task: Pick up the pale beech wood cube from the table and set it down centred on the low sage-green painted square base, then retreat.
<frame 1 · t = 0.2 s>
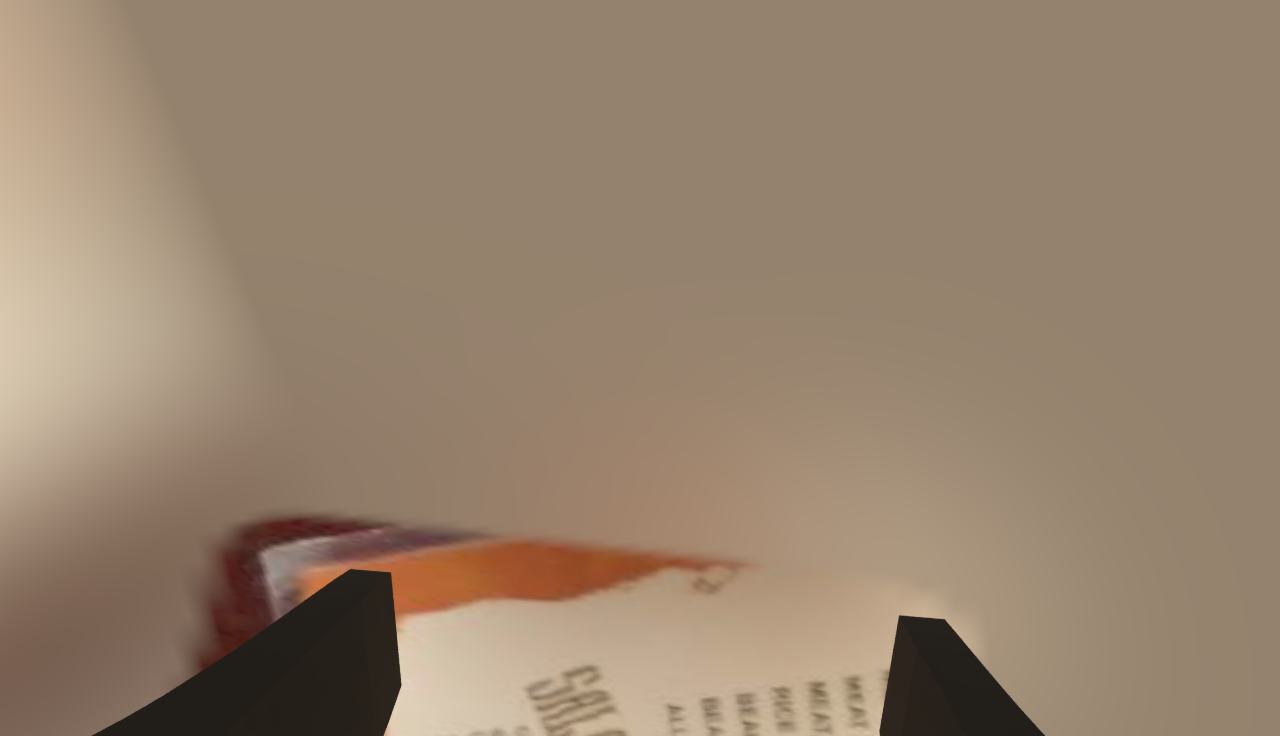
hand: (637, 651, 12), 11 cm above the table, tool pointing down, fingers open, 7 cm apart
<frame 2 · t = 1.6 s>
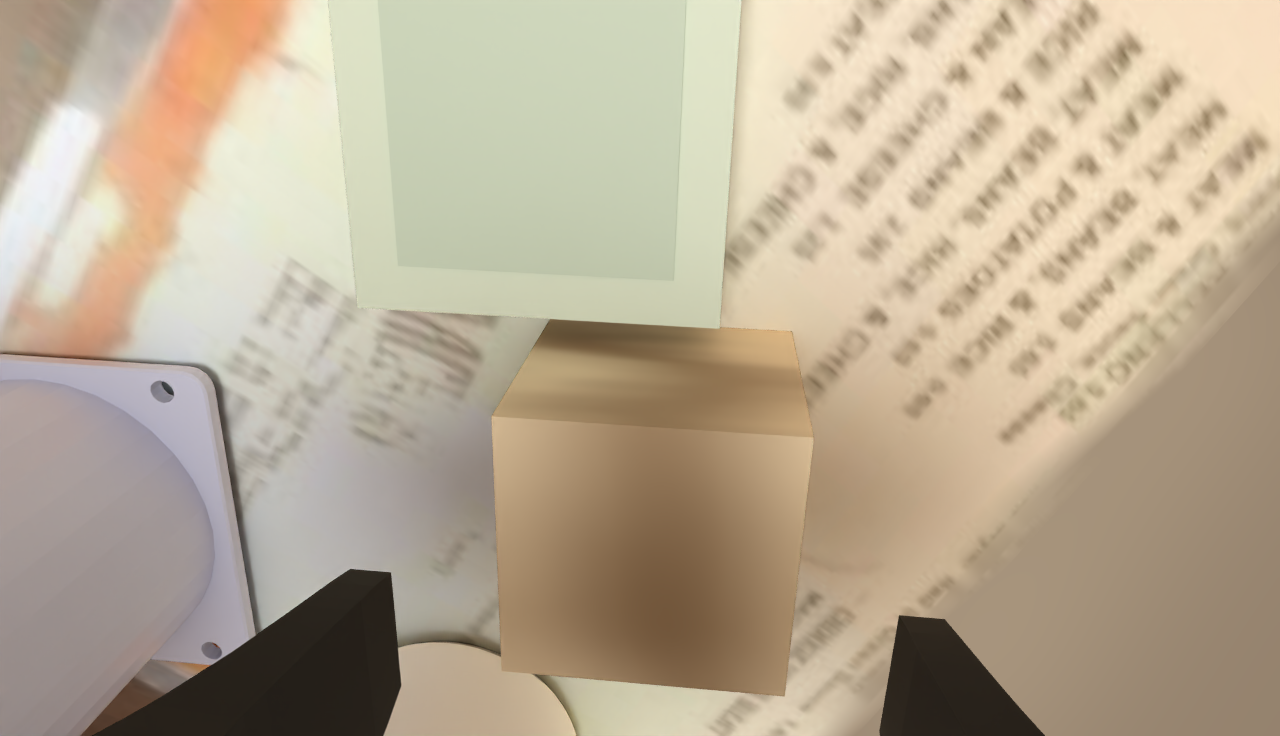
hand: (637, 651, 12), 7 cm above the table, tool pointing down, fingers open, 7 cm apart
base: (548, 120, 17), on the table
block: (665, 431, 19), on the table
can: (462, 726, 23), on the table
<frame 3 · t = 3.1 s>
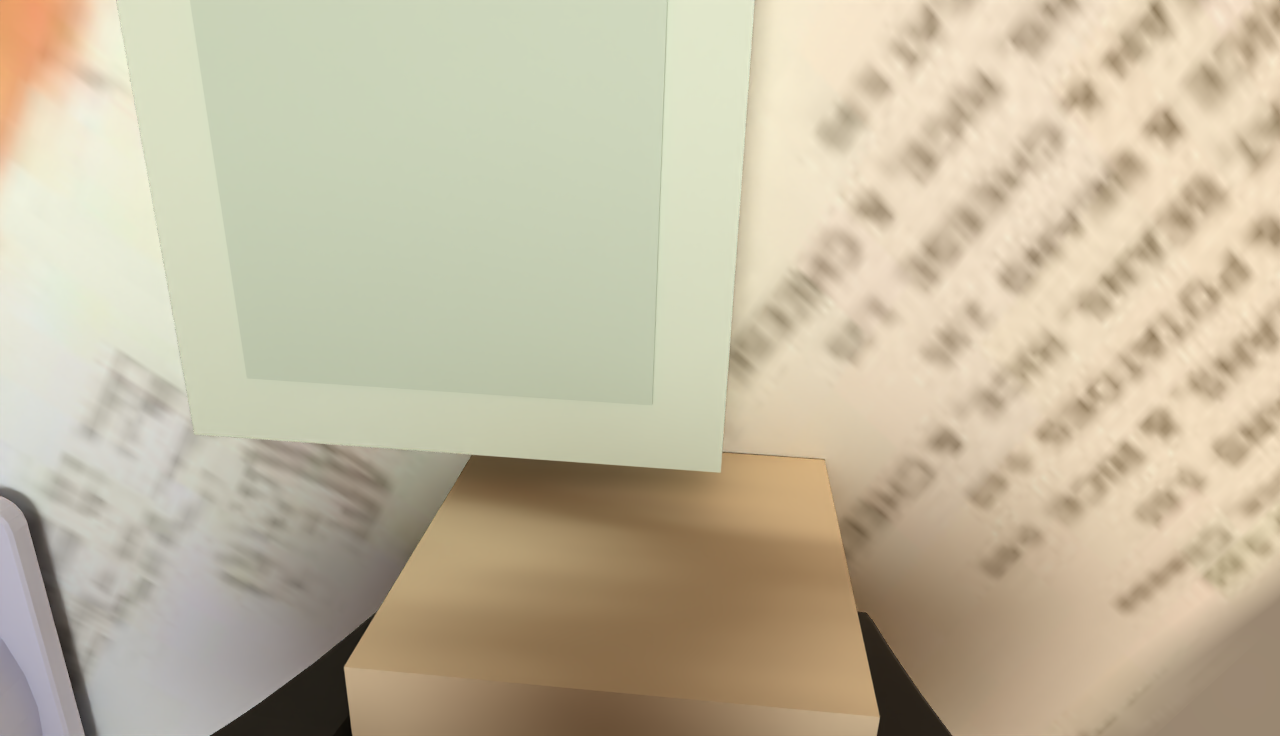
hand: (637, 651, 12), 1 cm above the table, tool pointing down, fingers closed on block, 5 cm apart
base: (471, 162, 11), on the table
block: (645, 590, 14), on the table, touching gripper
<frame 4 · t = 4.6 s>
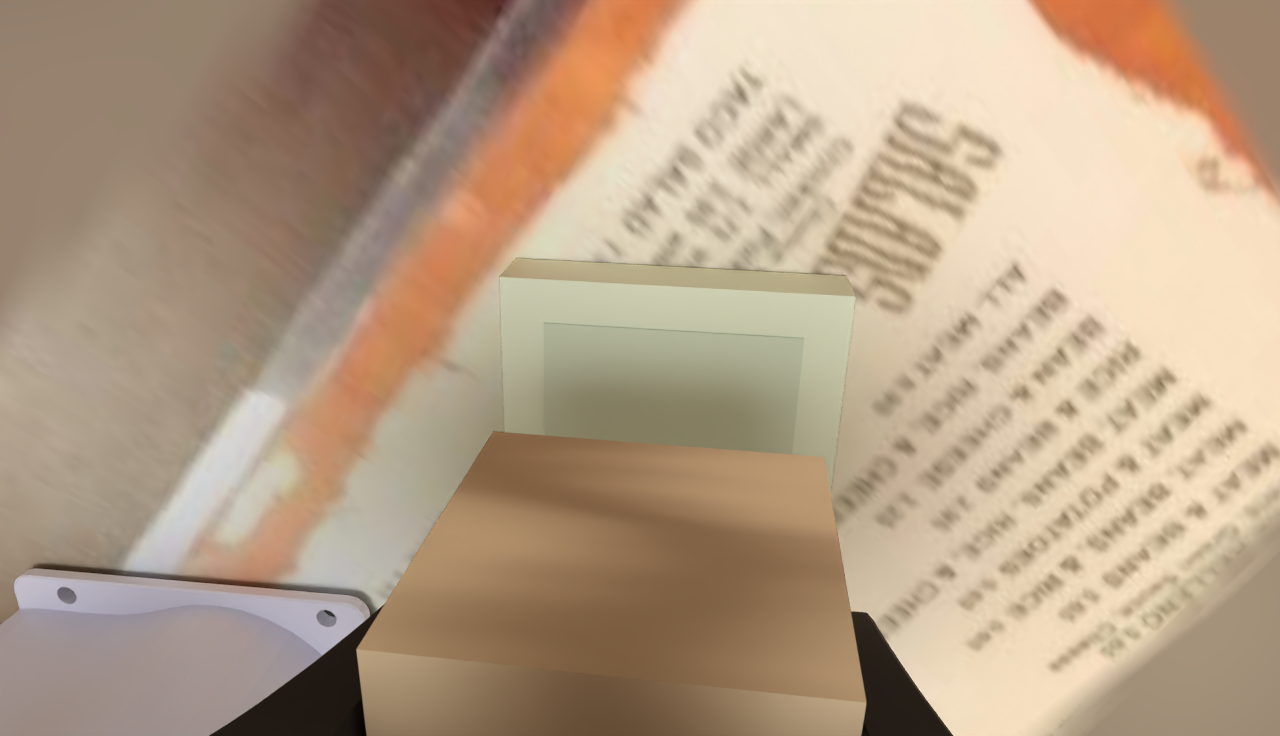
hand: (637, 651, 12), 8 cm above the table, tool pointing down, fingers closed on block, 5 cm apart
base: (671, 416, 20), on the table
block: (650, 582, 14), point 6 cm above the table, touching gripper
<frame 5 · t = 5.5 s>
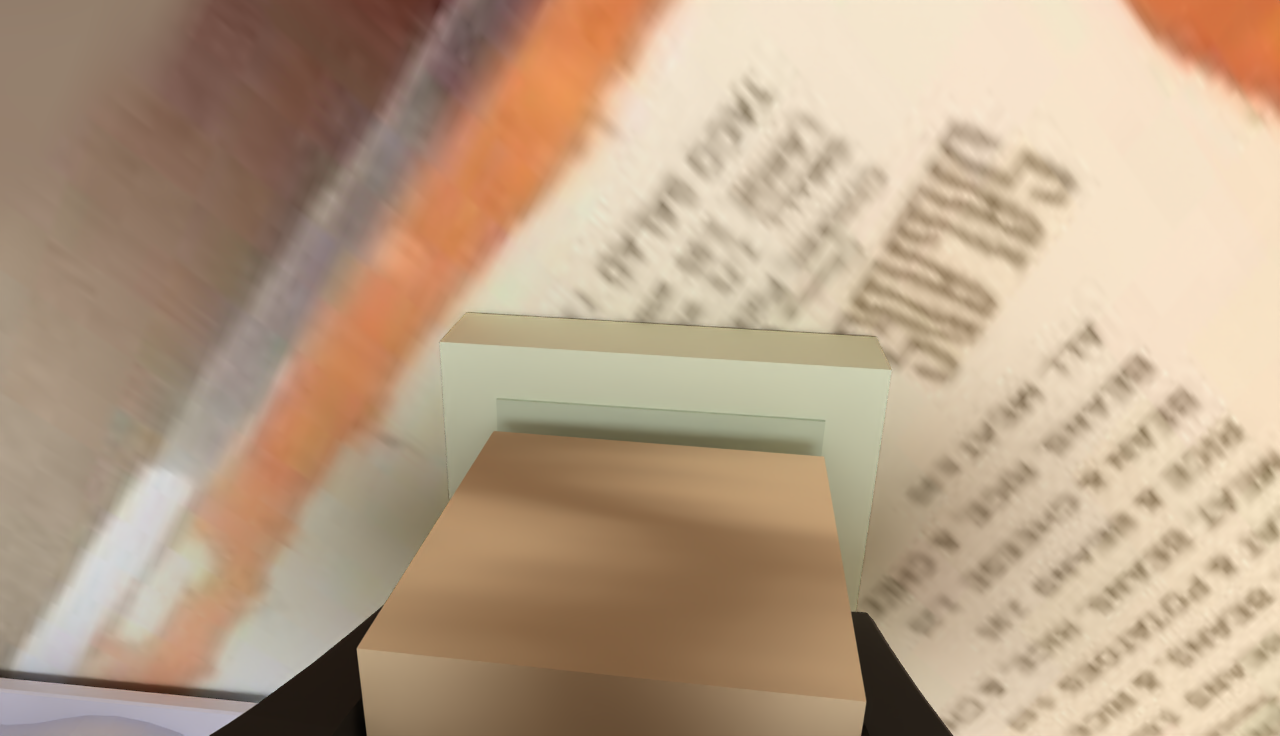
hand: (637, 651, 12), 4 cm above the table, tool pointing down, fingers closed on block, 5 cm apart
base: (659, 503, 16), on the table
block: (650, 582, 14), point 2 cm above the table, touching gripper
when the fingers open (4 cm above the table, at t = 6.1 s): block stays where it is, resting on base.
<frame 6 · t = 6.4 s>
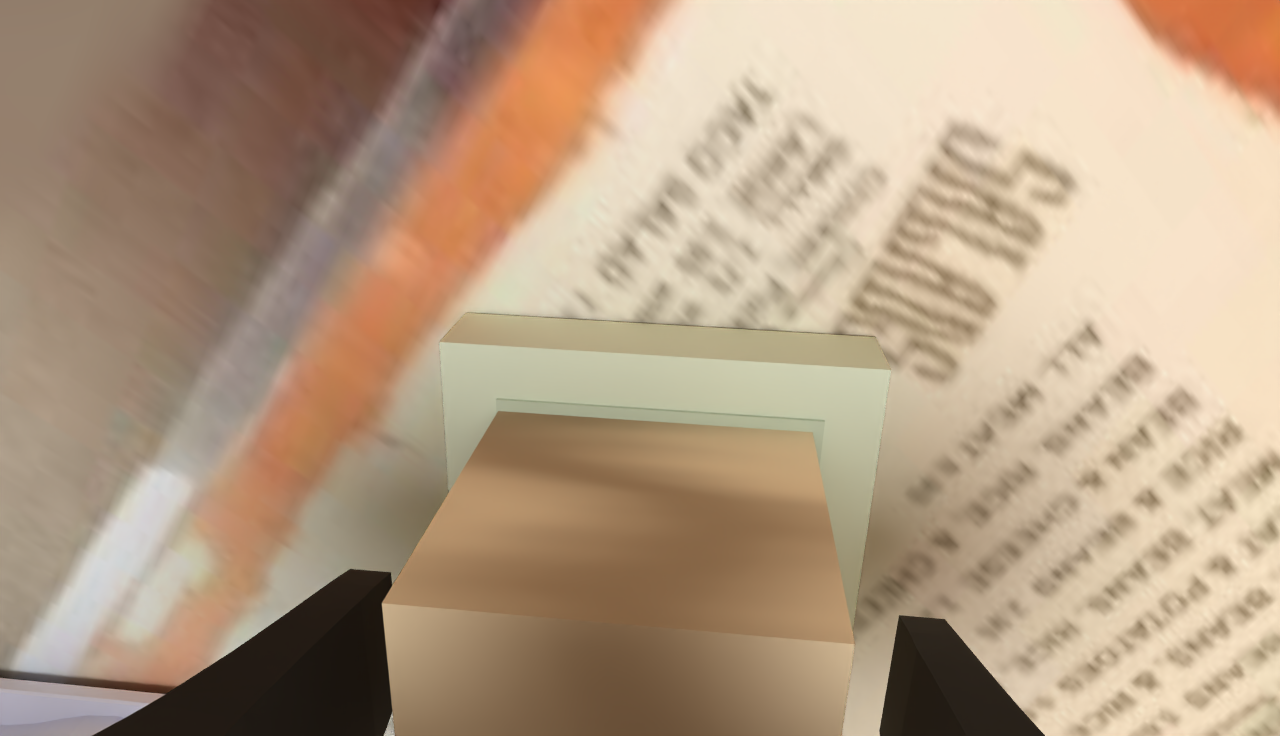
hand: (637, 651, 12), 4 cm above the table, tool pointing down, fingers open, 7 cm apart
base: (659, 503, 16), on the table
block: (648, 555, 15), point 2 cm above the table, touching base
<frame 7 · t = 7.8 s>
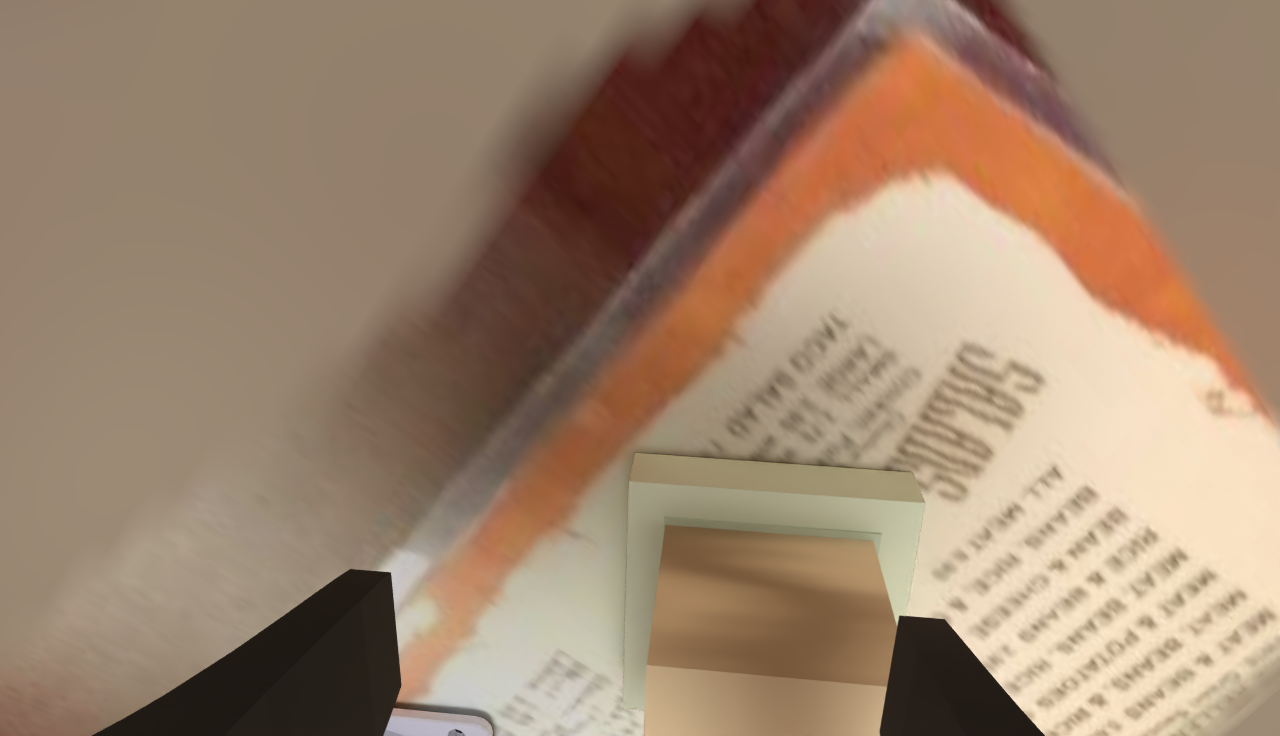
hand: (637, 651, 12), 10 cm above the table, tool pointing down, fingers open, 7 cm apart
base: (761, 578, 23), on the table
block: (760, 617, 22), point 2 cm above the table, touching base
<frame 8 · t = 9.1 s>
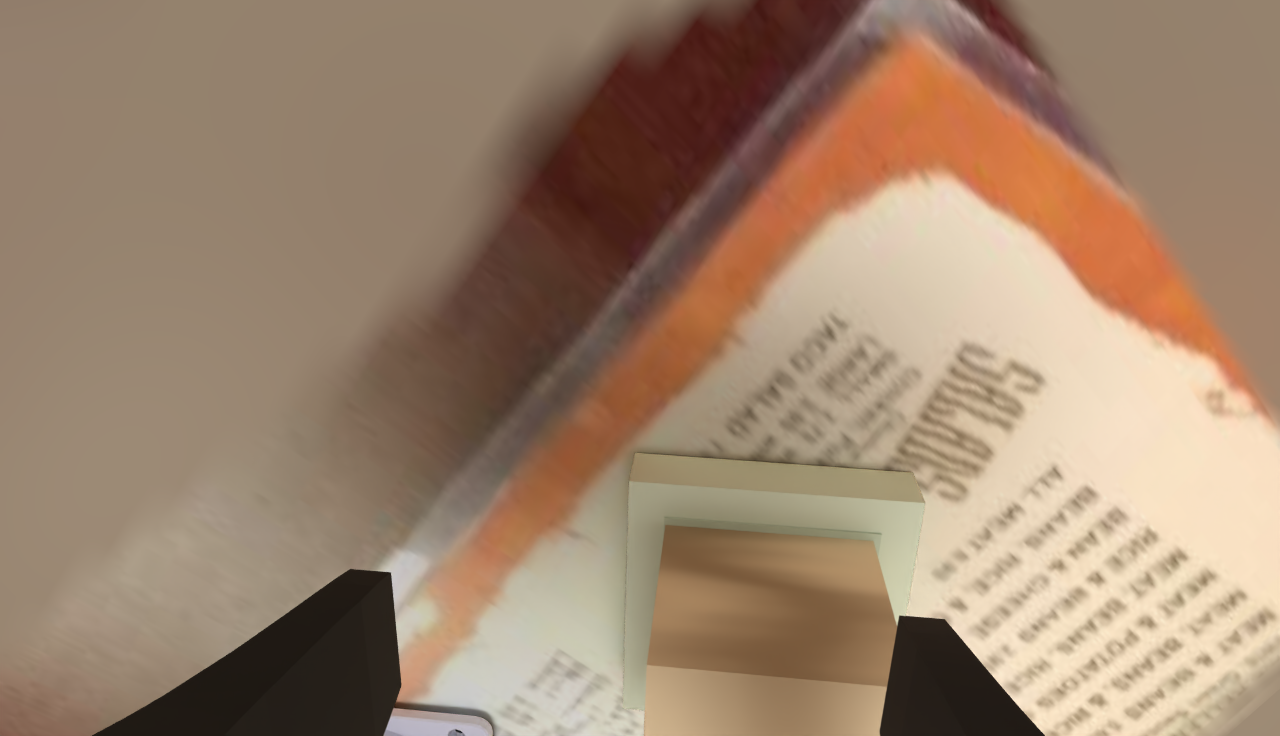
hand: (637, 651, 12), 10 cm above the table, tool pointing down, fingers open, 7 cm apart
base: (761, 578, 23), on the table
block: (760, 617, 22), point 2 cm above the table, touching base
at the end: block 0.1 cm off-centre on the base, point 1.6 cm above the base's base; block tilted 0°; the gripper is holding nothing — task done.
